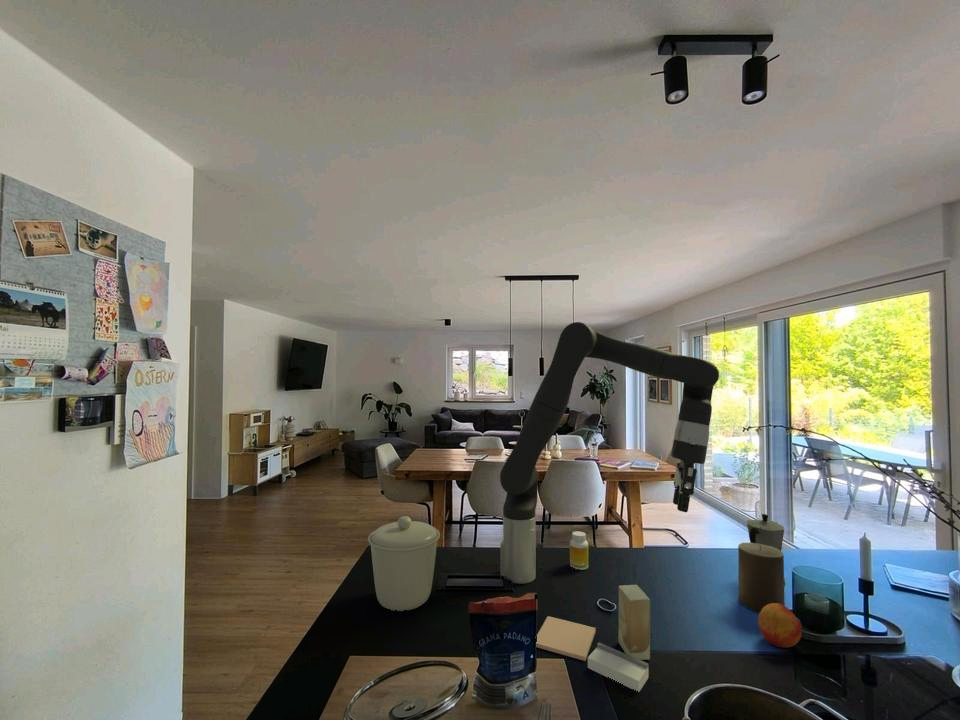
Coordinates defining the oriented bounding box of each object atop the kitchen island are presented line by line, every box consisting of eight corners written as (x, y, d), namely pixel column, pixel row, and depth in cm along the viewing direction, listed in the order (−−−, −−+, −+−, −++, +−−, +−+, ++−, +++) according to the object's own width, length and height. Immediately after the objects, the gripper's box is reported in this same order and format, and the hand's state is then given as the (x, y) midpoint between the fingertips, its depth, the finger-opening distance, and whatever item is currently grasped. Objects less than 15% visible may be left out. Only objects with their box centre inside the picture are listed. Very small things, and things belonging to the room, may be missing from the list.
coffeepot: (758, 566, 129) (757, 506, 129) (795, 578, 121) (793, 514, 122) (733, 580, 120) (732, 515, 121) (771, 594, 112) (770, 525, 113)
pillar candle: (770, 619, 101) (770, 554, 101) (730, 600, 109) (729, 540, 110) (793, 609, 105) (792, 547, 106) (752, 591, 114) (752, 534, 114)
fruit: (812, 658, 87) (811, 618, 87) (768, 653, 88) (767, 614, 89) (791, 635, 95) (790, 598, 95) (751, 631, 96) (750, 595, 96)
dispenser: (587, 667, 84) (587, 654, 84) (598, 655, 88) (598, 642, 88) (638, 692, 77) (638, 677, 78) (648, 677, 81) (648, 663, 81)
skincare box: (617, 642, 92) (617, 584, 92) (637, 641, 92) (636, 583, 93) (630, 662, 86) (630, 599, 86) (651, 660, 86) (650, 598, 86)
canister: (385, 580, 120) (386, 504, 120) (448, 587, 116) (448, 508, 117) (353, 616, 102) (354, 526, 103) (426, 625, 98) (426, 532, 99)
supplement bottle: (588, 571, 126) (588, 537, 126) (570, 569, 127) (569, 536, 127) (588, 563, 131) (587, 531, 131) (570, 561, 132) (569, 529, 132)
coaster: (533, 646, 91) (533, 642, 91) (547, 619, 101) (547, 616, 101) (585, 661, 86) (585, 657, 86) (595, 631, 96) (595, 627, 96)
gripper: (670, 437, 113) (660, 499, 111) (677, 438, 99) (666, 509, 98) (701, 443, 110) (691, 507, 109) (713, 446, 97) (702, 518, 95)
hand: (679, 507), depth 103 cm, fingers open, 8 cm apart
